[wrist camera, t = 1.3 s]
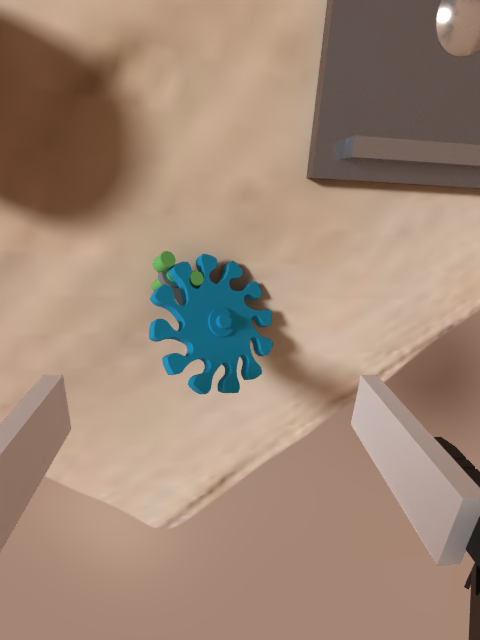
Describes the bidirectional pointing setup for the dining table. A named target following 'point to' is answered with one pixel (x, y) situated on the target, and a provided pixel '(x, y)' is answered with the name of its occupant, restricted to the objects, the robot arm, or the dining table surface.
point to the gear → (208, 321)
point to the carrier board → (399, 93)
